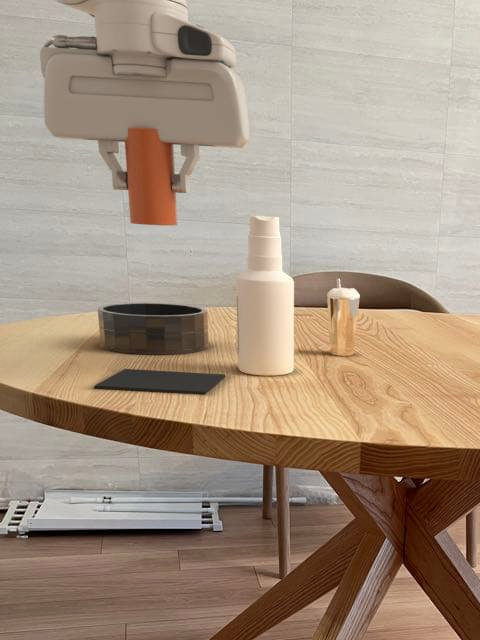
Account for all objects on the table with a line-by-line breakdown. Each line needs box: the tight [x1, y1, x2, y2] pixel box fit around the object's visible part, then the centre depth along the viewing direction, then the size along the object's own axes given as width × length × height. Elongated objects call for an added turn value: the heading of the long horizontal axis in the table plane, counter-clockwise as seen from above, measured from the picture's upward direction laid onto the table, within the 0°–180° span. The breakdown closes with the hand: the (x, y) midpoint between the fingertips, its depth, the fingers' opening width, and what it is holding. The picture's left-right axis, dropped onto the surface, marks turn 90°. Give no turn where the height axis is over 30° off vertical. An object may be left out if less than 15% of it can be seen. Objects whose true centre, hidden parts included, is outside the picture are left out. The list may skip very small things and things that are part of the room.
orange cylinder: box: [124, 128, 178, 226], centre depth 86 cm, size 5×5×9 cm
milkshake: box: [326, 278, 361, 357], centre depth 116 cm, size 4×5×10 cm
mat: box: [94, 368, 226, 395], centre depth 94 cm, size 12×10×1 cm
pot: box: [97, 302, 209, 356], centre depth 115 cm, size 14×14×5 cm
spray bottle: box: [235, 215, 295, 377], centre depth 100 cm, size 7×7×18 cm
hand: (152, 191), depth 86 cm, fingers closed on orange cylinder, 5 cm apart
